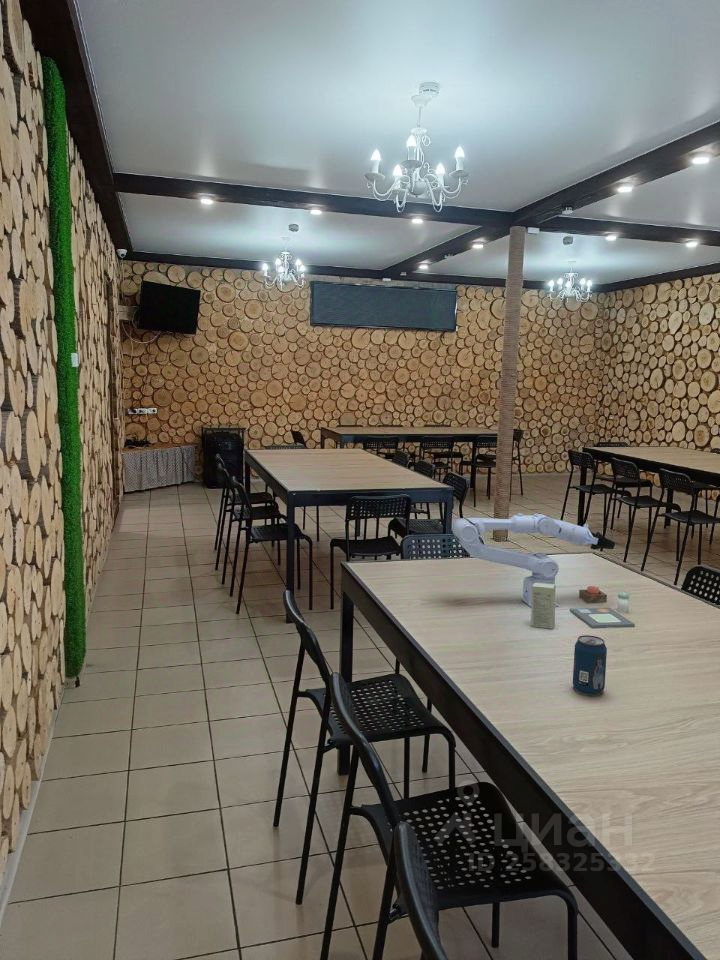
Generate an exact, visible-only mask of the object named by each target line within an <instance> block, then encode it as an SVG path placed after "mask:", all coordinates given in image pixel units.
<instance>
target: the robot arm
mask: <svg viewBox="0 0 720 960" xmlns="http://www.w3.org/2000/svg"><path fill="white" fill-rule="evenodd" d="M451 530H452V531H451V532H452V533H453V536H454V539H455V540H456V541H457V542H458V543H459V544H460V546H461V547H462V548H463V549H464V550H465V551H466V552H467V553H468V554H469V555H470V557H471V558H474V559H479V560H482V561H488V562H492V563H497V564H501V565H506V566H509V567H515V568H520V569H525V570H526V571H529V572H531V575H528V576H525V577H524V579H523V584H522V597H521V600H522V601H523V602H524V603H525V604H526V605H528V606H529V607H530V608H531V606H532V585H533V584H534V583H545V584H555V585H556V576H557V575H558V573H559V570H560V568H559V567H560V566H559V564H558V563H557V561H556V560H554V559H553V558H550V557H549V556H548V555H547V554H546V553H543V552H536V553H531V552H528V553H527V552H520V551H517V550H513V549H512V550H511V549H508V548H503V547H499V546H498V547H497V546H494V545H490V544H485V543H482V542H481V540H480V537H481V536H483V534H484V533H486V531H500V530H501V531H502V530H503V531H504V530H510V531H511V532H512V533H513V534H537V533H539V534H540V535H542V536H543V537H545V536H546V537H548V536H551V537H553V538H556V539H559V540H563V541H566V542H570V543H572V544H573V543H574V544H576V545H579V546H581V547H583V546H586V545H589V544H591V545H590V549H591V550H594V551H595V550H596V551H597V550H601V549H605V550H614V549H615V545H616V542H615V541H613V540H611V539H608V538H607V537H606V536H603V534H602V533H601V532H599V531H596V533H594V532H593V531H591V530H590V529H589V524H587V523H584V524H583V526H581V525H578V524H574V523H571V522H568V521H564V520H562V519H557V518H552V517H548V516H547V515H545V514H542V513H541V514H540V513H533V515H528V514H527V515H526V514H525V515H524V514H523V513H520V512H519V513H517V514H516V515H515V514H514V515H512V516H511V517H510V518H495V517H494V518H490V517H489V518H488V517H467V519H466V518H463V517H462V518H461V517H460V518H457V519H456V520H455V521H454V522H453V523H452V526H451ZM559 606H560V604H558V603H557V602H556V601H555V607H559Z"/></svg>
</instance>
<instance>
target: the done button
mask: <svg viewBox="0 0 720 960" xmlns="http://www.w3.org/2000/svg"><path fill="white" fill-rule="evenodd" d="M586 590H587V593H588V594H599V590H600V587H597V586H594V585H593V586H591V585H590V586H589V585H588V586H587V589H586Z"/></svg>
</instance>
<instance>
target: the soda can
mask: <svg viewBox="0 0 720 960" xmlns="http://www.w3.org/2000/svg"><path fill="white" fill-rule="evenodd" d="M573 651H574V652H573V670H572V671H573V673H572V685H573V687H574V689H575V690H576V692H578V694H579V693H580V694H581V695H586V696H592V697H593V696H600V695H601V694H602V692H603V691H604V690H605V688H606V687H605V686H606V669H607V653H608V649H607V646H606V643H605V640H604V639H603V638H601V637H598V636H596V635H589V634H587V635H586V634H585V635H579V636H578V637H577V640H576V642H575V643H574V649H573Z"/></svg>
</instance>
